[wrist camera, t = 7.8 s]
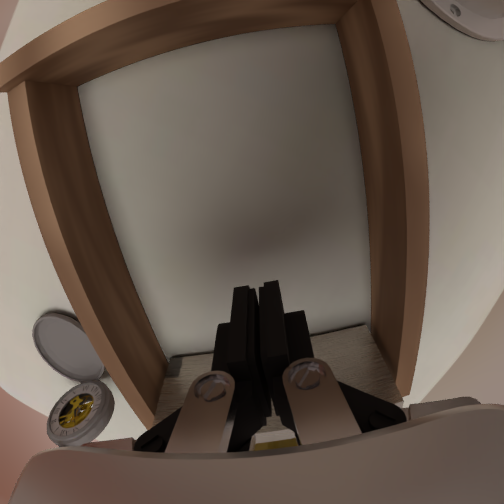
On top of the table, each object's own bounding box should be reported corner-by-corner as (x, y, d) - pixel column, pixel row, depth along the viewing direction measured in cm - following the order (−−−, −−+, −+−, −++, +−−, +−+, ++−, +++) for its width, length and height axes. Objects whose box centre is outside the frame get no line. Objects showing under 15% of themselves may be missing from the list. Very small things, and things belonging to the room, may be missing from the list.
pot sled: (365, 324, 20) (403, 400, 13) (359, 437, 25) (375, 494, 19) (170, 358, 20) (149, 438, 14) (224, 459, 26) (222, 517, 20)
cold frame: (350, 5, 12) (394, -38, 7) (384, 347, 21) (414, 405, 15) (58, 77, 13) (-9, 69, 8) (164, 384, 22) (148, 446, 16)
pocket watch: (45, 293, 19) (-32, 384, 10) (140, 354, 21) (99, 470, 12) (31, 354, 21) (-21, 433, 12) (108, 403, 23) (76, 494, 14)
